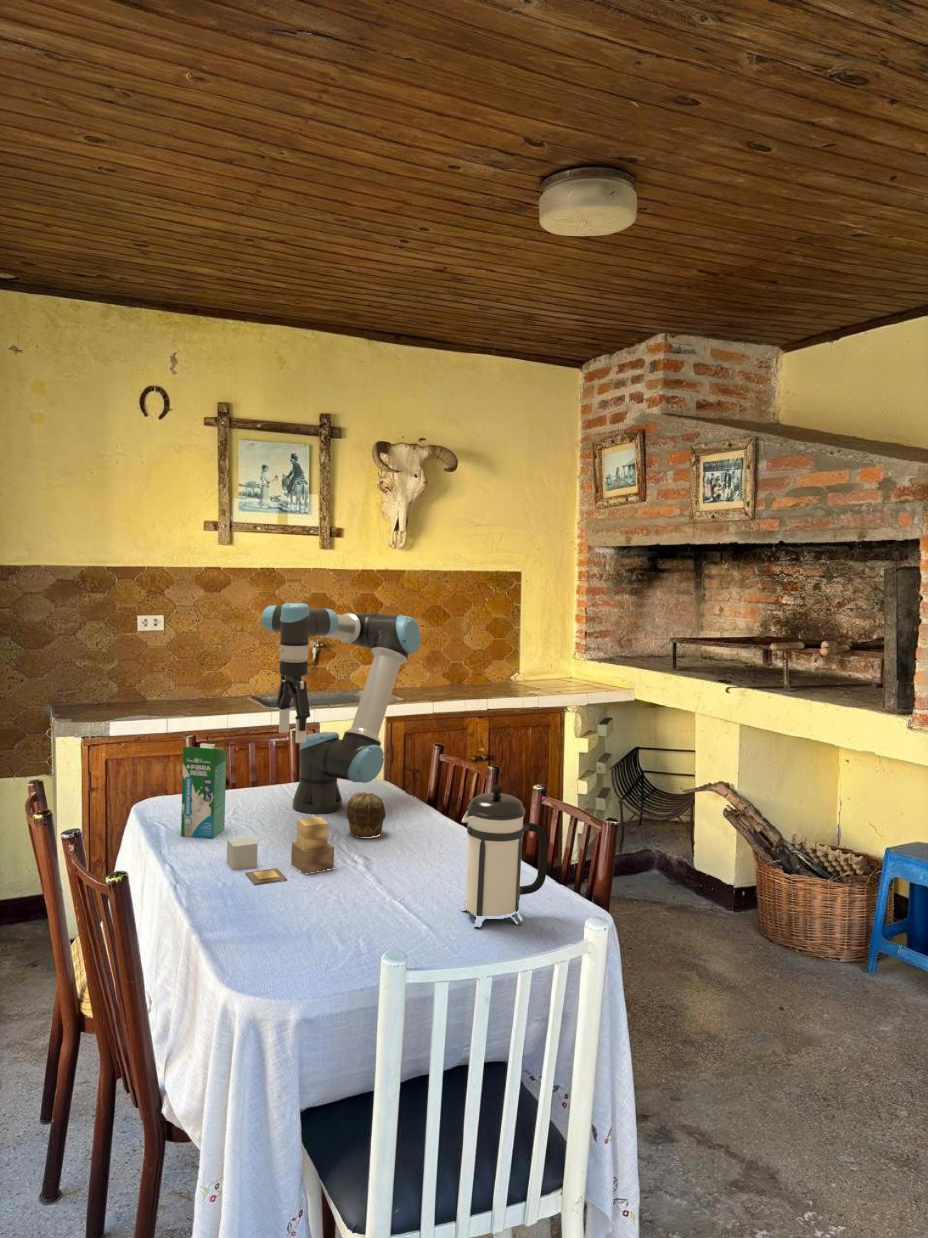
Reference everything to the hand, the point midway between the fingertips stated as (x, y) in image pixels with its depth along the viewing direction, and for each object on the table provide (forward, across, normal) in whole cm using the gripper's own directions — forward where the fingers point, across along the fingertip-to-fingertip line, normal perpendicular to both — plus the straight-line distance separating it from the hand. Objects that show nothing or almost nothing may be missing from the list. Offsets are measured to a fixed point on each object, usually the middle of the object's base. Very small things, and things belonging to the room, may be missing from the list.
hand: (292, 737), depth 250 cm
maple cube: (+22, +24, -3) cm, 33 cm away
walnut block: (+28, +24, -2) cm, 37 cm away
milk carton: (+28, -14, -20) cm, 38 cm away
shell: (+29, +5, +20) cm, 36 cm away
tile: (+28, +26, -15) cm, 41 cm away
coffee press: (+28, +70, +24) cm, 79 cm away
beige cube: (+28, +15, -18) cm, 37 cm away
